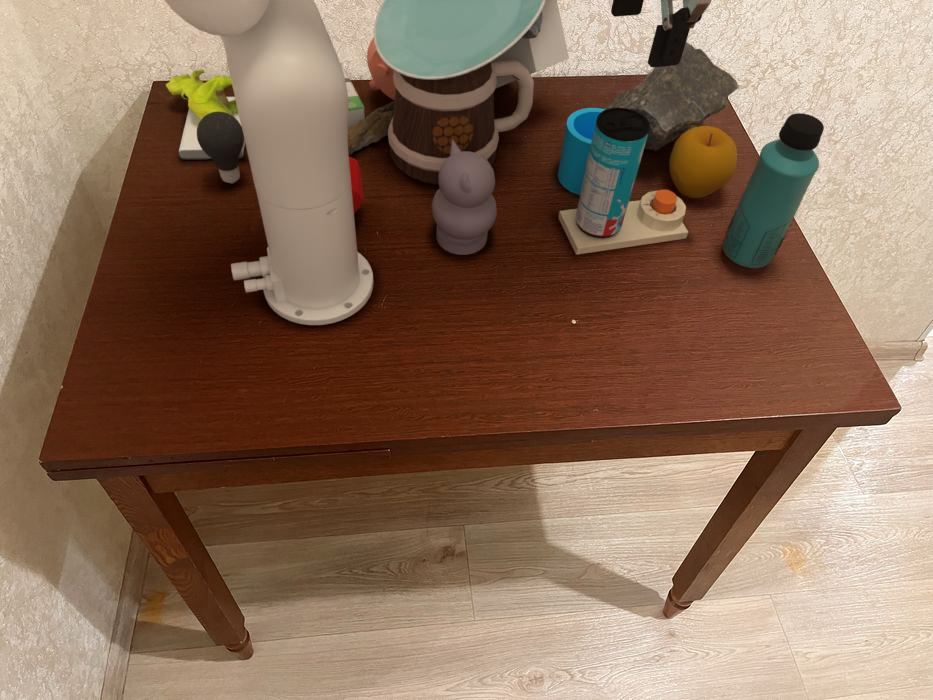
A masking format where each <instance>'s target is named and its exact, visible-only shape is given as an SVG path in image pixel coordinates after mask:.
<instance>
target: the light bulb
mask: <svg viewBox="0 0 933 700" xmlns="http://www.w3.org/2000/svg"><path fill="white" fill-rule="evenodd" d="M197 140H198V142H199V145H200V147H201V148H202V150H203V151H204V152H205V153H206V154H207V155H208V156H209V157H210V158H212V159H211V160H212V161H213V162H214V164H215V166H216V168H217V169H218V172H219V176H220V178H221V180H222V181H223V182H225V183H228V184H234V183H235V184H236V182H237V181H239V179H240V178H241V172H240V166H239V164H240V158H239V154H240V152H241V150H242V148H243V144H244V134H243V130H242V126H241V125H240V123H239V122H238V120H237V119H236V118H234V117H233V116H232V115H230V114H228V113H225V112H219V111H218V112H212V113H209V114H207V115H206V116H204V117H203V118H202V120H201V121H200V122H199V124H198V127H197Z"/></svg>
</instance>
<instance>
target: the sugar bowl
mask: <svg viewBox="0 0 933 700" xmlns="http://www.w3.org/2000/svg"><path fill="white" fill-rule="evenodd" d="M366 63H367V69H368V71H369V73H370V76H371V78H372V79H371V80H370V81H369V82H368V85H369V88H370V89H371V90H373V91H379V90H380V91H381V92H382V93H383V94H384V95H385V96H387V97H388V98H390V99H391V100H392V101H393V102H394V101H395V92H396V87H395V86H394V79H393V74H394V70H393V69H391V68H390V67H389V66H387V65H386V64H385V63H384V61H383V60H382V59H381V58H380V56H379V54H378V53H377V50H376V47H375V43H374V37H372V39H371V41H370V42H369V44H368V46H367V51H366Z"/></svg>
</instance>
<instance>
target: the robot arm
mask: <svg viewBox="0 0 933 700" xmlns="http://www.w3.org/2000/svg"><path fill="white" fill-rule="evenodd" d="M644 1H645V0H612V4H611V8H610V13H611V15H612V17H614V18H615V17H617V18H618V17H628V16H629V17H630V16H639V15H640V14H641V13H642V10H643V5H644ZM673 1H676V0H660V10H661V24H657V25H656V29H655V32H654V35H653V40H652V43H651V47H650V52H649V56H648V59H647V64H648V66H649V67H650V68H655V67H663V66H673V65H678V64H679V63H680V61H681V57H682V54H683V51H684V47H685V44H686V42H687V40H688V37H689V33H690V31H691V29H693V28H695V26H696V24H697V23H698V22H700V21H701V20H702V18H703V14H704V13H705V11H706V10H707V9H708V8H709V6H710V5H711V3H712V0H682V7H681V8H680V9H678V10H677V11H676V12H674V6H673V3H674V2H673ZM164 2H165V3H166V4H167V5H168V7H169V9H171V10H172V11H173V12H174V13H175V14H176V15H177V16H179V17H180V19H182V20H183V21H184V22H185V23H187V24H189V25H190V26H192V27H193V28H195V29H197V30H198V31H201V32H203V33H206V34H209V35H211V36H219V38H220V39H221V41H222V43H223V46H224V51H225V54H226V65H227V68H228V72H229V77H231V81H232V86H231V87H232V91H233V95H234V96H233V97H235V100H236V105H237V109H238V114H239V118H240V122H241V126H242V130H243V134H244V139H245V147H246V148H245V149H246V152H247V158H248V162H249V166H250V167H249V168H250V171H251V176H252V179H253V184H254V189H255V192H256V196H257V202H258V206H259V211H260V214H261V215H260V216H261V219H262V224H263V229H264V234H265V237H266V238H265V239H266V242H267V247H266V252H267V255H266V256H260V257H259V258H258V259H259V260H255V261H241V262H234V263H230V268H231V274H232V279H233V281H240V280H243V285H244V290H245V293H252V292H258V291H262V290H263V294H264V299H265V300H266V302H267V304H268V306H269V307H270V308H271V310H272V311H273V312H274V313H276V314H277V315H278V316H279V317H281V318H282V319H285V320H287V321H289V322H292V323H295V324H300V325H306V326H324V325H329V324H330V325H331V324H335V323H338V322H340V321H343V320H345V319H347V318H350V317H352V316H353V315H355V314H356V313H358V312H359V311H360V310H361V309H362V308H363V307H364V306H365V305H366V304H367V303H368V301H369V299H370V298H371V296H372V293H373V289H374V274H373V273H374V272H373V270H372V267H371V265H370V263H369V261H368V259H366V258H365V257H364V256H363V255H362V253H360V252H359V251H358V244H357V234H356V232H357V231H356V222H355V214H354V210H353V198H352V187H351V176H350V167H349V157H350V155H348V93H347V87H346V82H345V78H344V74H343V70H342V67H341V64H340V62H341V61H340V59H339V56H338V53H337V51H336V48H335V46H334V43H333V42H332V39H331V36H330V33H329V32H328V30H327V27H326V25H325V22H324V20H323V18H322V16H321V13H320V11H319V9H318V6H317V4H316V2H315V1H314V0H164ZM256 277H262V278H257V279H256ZM251 278H253V279H251Z"/></svg>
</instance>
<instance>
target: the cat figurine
mask: <svg viewBox="0 0 933 700" xmlns="http://www.w3.org/2000/svg"><path fill="white" fill-rule="evenodd" d="M438 179H439V185H438V187H439V188H438V189H437V191H435V194H434V196H433V198H432V201H431V215H432V217H433V219H434V222H435V224H436V241H437V243H438V245H439V246H440V248H442V249H443V250H444V251H446V252H449V253H450V254H454V255H458V256H461V255H462V256H463V255H465V256H468V255H471V254H475V253H477V252H479V251H480V250H481V251H482V249H483V248H484V247H485V246H486V245H487V243H486V242H487V241H488V233H489V230H491V228H492V227H493V226H494V224H495V221H496V218H497V215H498V209H497V202H496V199H495V197H494V195H493V192H494V189H495V187H496V177H495V171H494V169H493V167H492V165H490V164H489V162H488V161H487V160H486V159H485V158H484V157H482V156H481V155H479V154H477V153H474V152H469V151H462V152H461V151H460V149H459V148H458V146H457V145H456V143H455V142H454V141H453V139H452V145H451V153H450V157H448V158H447V159H446V160H445V161H444V163H443V164H442V166H441V169H440V171H439V175H438Z"/></svg>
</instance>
